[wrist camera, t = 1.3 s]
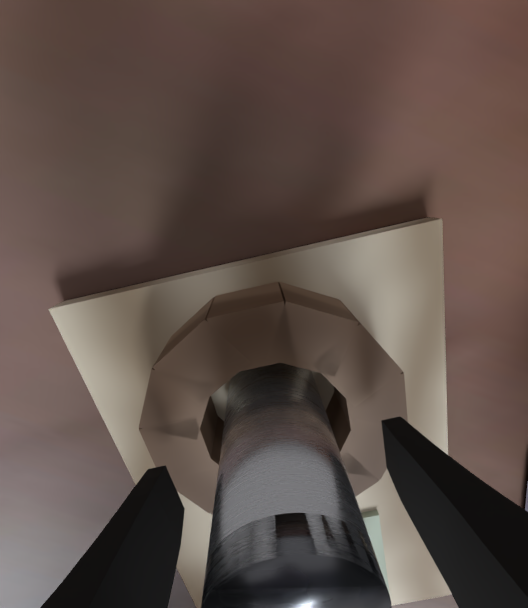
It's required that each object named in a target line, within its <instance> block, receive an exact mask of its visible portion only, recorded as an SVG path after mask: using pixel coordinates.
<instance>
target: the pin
mask: <svg viewBox="0 0 528 608" xmlns="http://www.w3.org/2000/svg"><path fill="white" fill-rule="evenodd" d="M201 608H391V599H390V595H389V592H388V589H387V586H386V583H385V580H384V577H383V575H382V572H381V569H380V566H379V563H378V560H377V557H376V554H375V552H374V549H373V546H372V543H371V540H370V537H369V534H368V531H367V529H366V526H365V523H364V520H363V517H362V514H361V511H360V509H359V506H358V503H357V500H356V497H355V494H354V491H353V488H352V486H351V483H350V480H349V477H348V474H347V471H346V468H345V465H344V463H343V460H342V457H341V454H340V451H339V448H338V445H337V442H336V440H335V437H334V434H333V431H332V428H331V425H330V422H329V419H328V417H327V414H326V411H325V408H324V405H323V402H322V399H321V396H320V394H319V391H318V388H317V385H316V382H315V379H314V376H313V374H312V372H311V370H308V369H304V368H300V367H296V366H292V365H288V364H284V363H277V364H272V365H267V366H263V367H258V368H254V369H249V370H244V371H240V372H238V373H237V374H236V375H235V376H233V377H232V378H231V379H230V383H229V389H228V397H227V405H226V413H225V421H224V429H223V437H222V445H221V453H220V461H219V468H218V476H217V484H216V492H215V500H214V508H213V516H212V524H211V532H210V540H209V548H208V556H207V563H206V571H205V579H204V587H203V595H202V603H201Z"/></svg>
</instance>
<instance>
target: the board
mask: <svg viewBox="0 0 528 608" xmlns="http://www.w3.org/2000/svg"><path fill="white" fill-rule="evenodd" d="M49 311H50V313H51V315H52V317H53V319H54V321H55V323H56V325H57V327H58V329H59V331H60V333H61V335H62V337H63V339H64V341H65V343H66V345H67V347H68V349H69V351H70V353H71V355H72V357H73V359H74V361H75V363H76V366H77V368H78V370H79V372H80V374H81V376H82V378H83V380H84V382H85V384H86V386H87V388H88V390H89V392H90V394H91V396H92V398H93V400H94V402H95V404H96V406H97V408H98V410H99V412H100V414H101V416H102V418H103V420H104V422H105V424H106V426H107V428H108V430H109V432H110V434H111V436H112V438H113V440H114V442H115V444H116V446H117V448H118V450H119V452H120V454H121V456H122V458H123V460H124V462H125V465H126V467H127V469H128V471H129V473H130V475H131V477H132V479H133V481H134V483H135V485H136V484H137V483H138V482H139V480H140V479H141V478H142V476H143V475H144V474H145V472H146V471H147V470H148V469H151V468H156V467H160V466H165V465H166V467H167V470H168V472H169V474H170V477H171V479H172V481H173V483H174V486H175V488H176V490H177V492H178V495H179V497H180V499H181V502H182V504H183V506H184V508H185V510H184V521H183V530H182V539H181V546H180V551H179V556H178V561H177V566H176V568H177V570H178V572H179V574H180V576H181V578H182V580H183V582H184V584H185V586H186V588H187V590H188V592H189V594H190V596H191V598H192V600H193V602H194V604H195V606H196V608H201V603H202V595H203V587H204V579H205V571H206V563H207V556H208V548H209V540H210V532H211V524H212V516H213V508H214V500H215V492H216V484H217V476H218V468H219V461H220V453H221V445H222V437H223V429H224V421H225V413H226V405H227V397H228V389H229V383H230V379H231V378H232V377H233V376H235V375H236V374H237V373H238V372H240V371H244V370H249V369H254V368H258V367H263V366H267V365H272V364H277V363H284V364H288V365H292V366H296V367H300V368H304V369H308V370H311V372H312V374H313V376H314V379H315V382H316V385H317V388H318V391H319V394H320V396H321V399H322V402H323V405H324V408H325V411H326V414H327V417H328V419H329V422H330V425H331V428H332V431H333V434H334V437H335V440H336V442H337V445H338V448H339V451H340V454H341V457H342V460H343V463H344V465H345V468H346V471H347V474H348V477H349V480H350V483H351V486H352V488H353V491H354V494H355V497H356V500H357V503H358V506H359V509H360V511H361V514H362V517H363V520H364V523H365V526H366V529H367V531H368V534H369V537H370V540H371V543H372V546H373V549H374V552H375V554H376V557H377V560H378V563H379V566H380V569H381V572H382V575H383V577H384V580H385V583H386V586H387V589H388V592H389V595H390V599H391V606H393V605H398V604H404V603H409V602H415V601H420V600H425V599H431V598H436V597H442V596H447V595H451V591H450V589H449V587H448V586H447V584H446V582H445V580H444V578H443V577H442V575H441V573H440V571H439V569H438V568H437V566H436V564H435V562H434V560H433V558H432V557H431V555H430V553H429V551H428V549H427V548H426V546H425V544H424V542H423V540H422V539H421V537H420V535H419V533H418V531H417V530H416V528H415V526H414V524H413V522H412V520H411V519H410V517H409V515H408V513H407V511H406V509H405V508H404V506H403V504H402V502H401V500H400V497H399V495H398V493H397V491H396V488H395V486H394V484H393V481H392V479H391V477H390V474H389V472H388V470H387V466H386V457H385V449H384V440H383V431H382V422H381V420H385V419H390V418H395V417H402V418H403V419H405V420H406V421H407V422H408V423H409V424H410V425H412V426H413V427H414V428H415V429H416V430H418V431H419V432H420V433H421V434H422V435H424V436H425V437H426V438H427V439H428V440H430V441H431V442H432V443H433V444H435V445H436V446H437V447H438V448H440V449H441V450H442V451H443V452H445V453H446V454H447V455H448V432H447V391H446V351H445V310H444V269H443V228H442V219H440V218H430V217H427V218H423V219H418V220H414V221H410V222H405V223H401V224H397V225H392V226H388V227H384V228H379V229H375V230H371V231H366V232H362V233H358V234H353V235H349V236H344V237H340V238H336V239H331V240H327V241H323V242H318V243H314V244H310V245H305V246H301V247H297V248H292V249H288V250H284V251H279V252H275V253H271V254H266V255H262V256H258V257H253V258H249V259H245V260H240V261H236V262H232V263H227V264H223V265H219V266H214V267H210V268H206V269H201V270H197V271H192V272H188V273H184V274H179V275H175V276H171V277H166V278H162V279H158V280H153V281H149V282H145V283H140V284H136V285H132V286H127V287H123V288H119V289H114V290H110V291H106V292H101V293H97V294H93V295H88V296H84V297H80V298H75V299H71V300H67V301H63V302H61V303H59V304H57V305H55V306H53V307H52V308H50V309H49Z"/></svg>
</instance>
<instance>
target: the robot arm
mask: <svg viewBox="0 0 528 608" xmlns="http://www.w3.org/2000/svg"><path fill="white" fill-rule="evenodd" d="M381 422H382V431H383V440H384V449H385V457H386V466H387V470H388V472H389V474H390V477H391V479H392V481H393V484H394V486H395V488H396V491H397V493H398V495H399V497H400V500H401V502H402V504H403V506H404V508H405V509H406V511H407V513H408V515H409V517H410V519H411V520H412V522H413V524H414V526H415V528H416V530H417V531H418V533H419V535H420V537H421V539H422V540H423V542H424V544H425V546H426V548H427V549H428V551H429V553H430V555H431V557H432V558H433V560H434V562H435V564H436V566H437V568H438V569H439V571H440V573H441V575H442V577H443V578H444V580H445V582H446V584H447V586H448V587H449V589H450V591H451V593H452V595H453V597H454V599H455V601H456V603H457V605H458V607H459V608H528V483H527V494H526V504H525V510H524V509H523V508H521V507H520V506H518V505H517V504H515V503H514V502H512V501H511V500H509V499H508V498H506V497H505V496H503V495H502V494H500V493H499V492H497V491H496V490H495V489H493V488H492V487H490V486H489V485H487V484H486V483H485V482H483V481H482V480H480V479H479V478H478V477H476V476H475V475H474V474H472V473H471V472H470V471H468V470H467V469H466V468H464V467H463V466H462V465H460V464H459V463H458V462H456V461H455V460H454V459H452V458H451V457H450V456H448V455H447V454H446V453H445V452H443V451H442V450H441V449H440V448H438V447H437V446H436V445H435V444H433V443H432V442H431V441H430V440H428V439H427V438H426V437H425V436H424V435H422V434H421V433H420V432H419V431H418V430H416V429H415V428H414V427H413V426H412V425H410V424H409V423H408V422H407V421H406V420H405V419H403V418H402V417H395V418H390V419H385V420H381ZM184 510H185V508H184V506H183V504H182V502H181V499H180V497H179V495H178V492H177V490H176V488H175V486H174V483H173V481H172V479H171V477H170V474H169V472H168V470H167V467H166V465H165V466H160V467H156V468H151V469H148V470H147V471H146V472H145V474H144V475H143V476H142V478H141V479H140V480H139V482H138V483H137V484H136V486H135V487H134V489H133V490H132V491H131V493H130V494H129V495H128V497H127V498H126V500H125V501H124V502H123V504H122V505H121V507H120V508H119V509H118V511H117V512H116V513H115V515H114V516H113V517H112V519H111V520H110V521H109V523H108V524H107V525H106V527H105V528H104V529H103V531H102V532H101V533H100V535H99V536H98V538H97V539H96V540H95V541H94V543H93V544H92V545H91V546H90V548H89V549H88V550H87V552H86V553H85V554H84V555H83V557H82V558H81V559H80V560H79V562H78V563H77V564H76V565H75V567H74V568H73V569H72V570H71V572H70V573H69V574H68V575H67V577H66V578H65V579H64V580H63V582H62V583H61V584H60V585H59V586H58V588H57V589H56V590H55V591H54V592H53V594H52V595H51V596H50V597H49V598H48V599H47V601H46V602H45V603H44V604H43V605H42V606H41V608H167V607H168V603H169V598H170V594H171V589H172V584H173V580H174V575H175V570H176V566H177V561H178V556H179V551H180V546H181V539H182V530H183V521H184Z"/></svg>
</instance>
